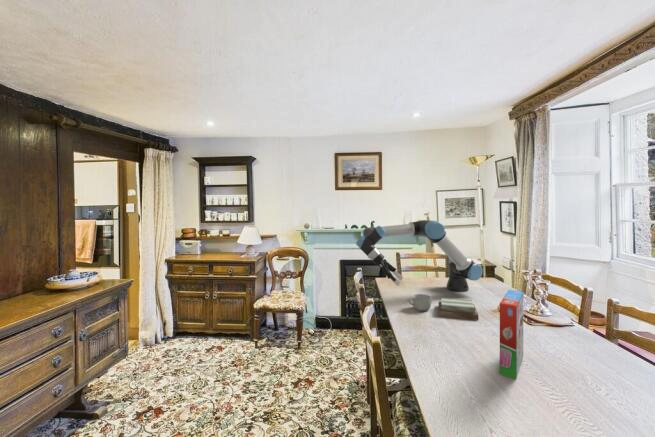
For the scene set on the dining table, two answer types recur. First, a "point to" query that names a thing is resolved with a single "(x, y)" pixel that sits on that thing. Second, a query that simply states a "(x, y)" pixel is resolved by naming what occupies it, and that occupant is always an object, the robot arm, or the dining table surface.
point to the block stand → (457, 309)
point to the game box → (511, 333)
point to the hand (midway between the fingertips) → (400, 281)
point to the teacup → (421, 302)
